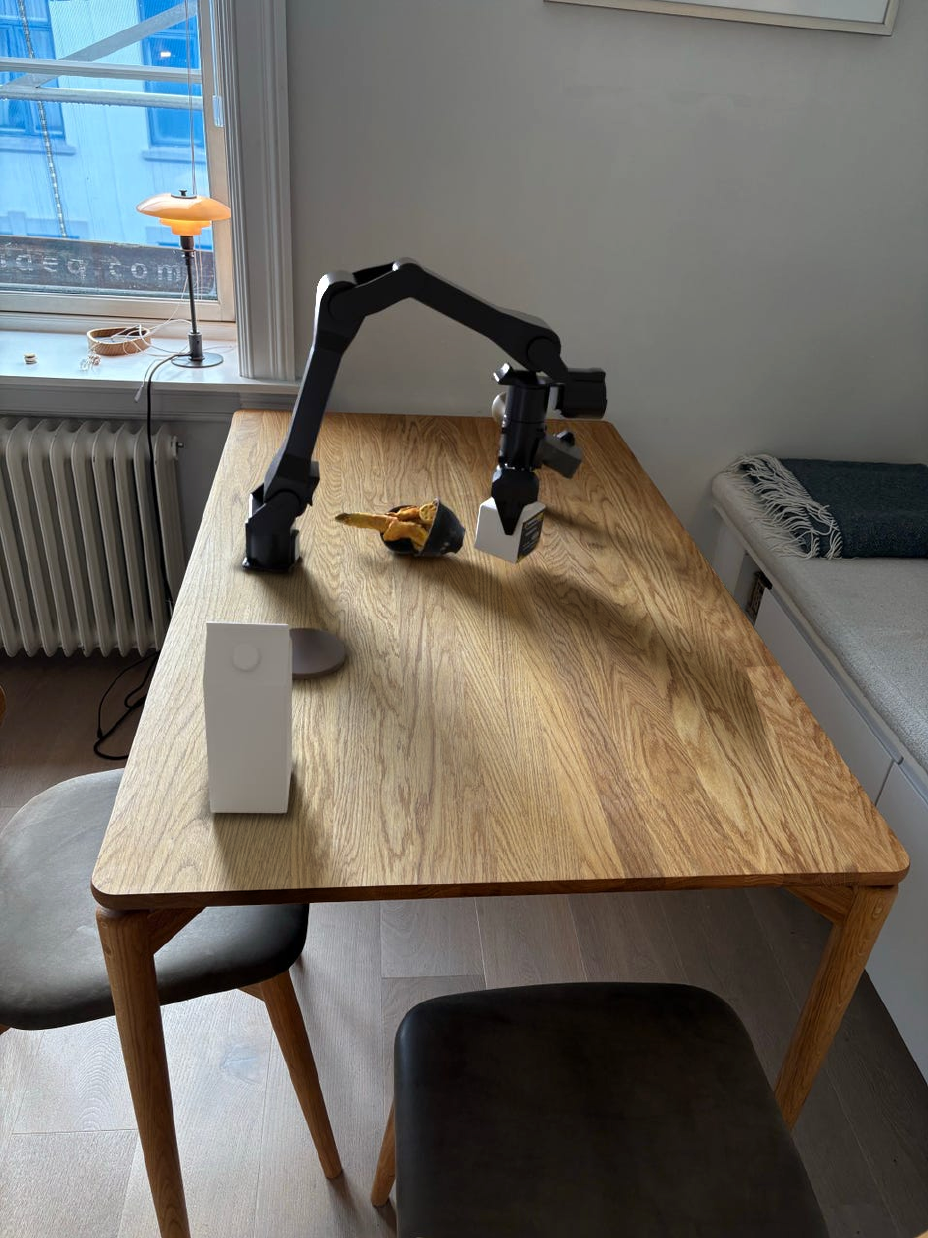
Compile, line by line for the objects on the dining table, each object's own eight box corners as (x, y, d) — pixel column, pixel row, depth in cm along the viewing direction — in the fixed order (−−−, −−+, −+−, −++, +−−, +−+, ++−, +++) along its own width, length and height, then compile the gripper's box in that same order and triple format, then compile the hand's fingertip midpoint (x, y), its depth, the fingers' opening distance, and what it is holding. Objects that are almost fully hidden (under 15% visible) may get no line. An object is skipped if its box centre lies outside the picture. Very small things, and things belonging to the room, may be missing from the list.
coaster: (249, 673, 109) (249, 667, 109) (273, 628, 118) (273, 622, 117) (335, 684, 109) (335, 678, 108) (352, 638, 117) (353, 633, 117)
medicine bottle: (516, 565, 134) (529, 487, 127) (473, 549, 136) (483, 471, 130) (539, 548, 139) (552, 472, 133) (496, 532, 142) (508, 457, 136)
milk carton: (220, 764, 95) (211, 601, 85) (292, 765, 96) (292, 604, 86) (210, 814, 89) (200, 644, 79) (287, 814, 90) (286, 646, 80)
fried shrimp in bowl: (470, 546, 132) (348, 499, 127) (441, 589, 140) (325, 547, 136) (478, 498, 137) (361, 452, 133) (449, 543, 146) (338, 501, 141)
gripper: (585, 448, 119) (566, 558, 127) (584, 402, 135) (567, 502, 143) (497, 436, 120) (484, 547, 128) (506, 392, 136) (494, 493, 144)
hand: (510, 521), depth 136 cm, fingers closed on medicine bottle, 9 cm apart
